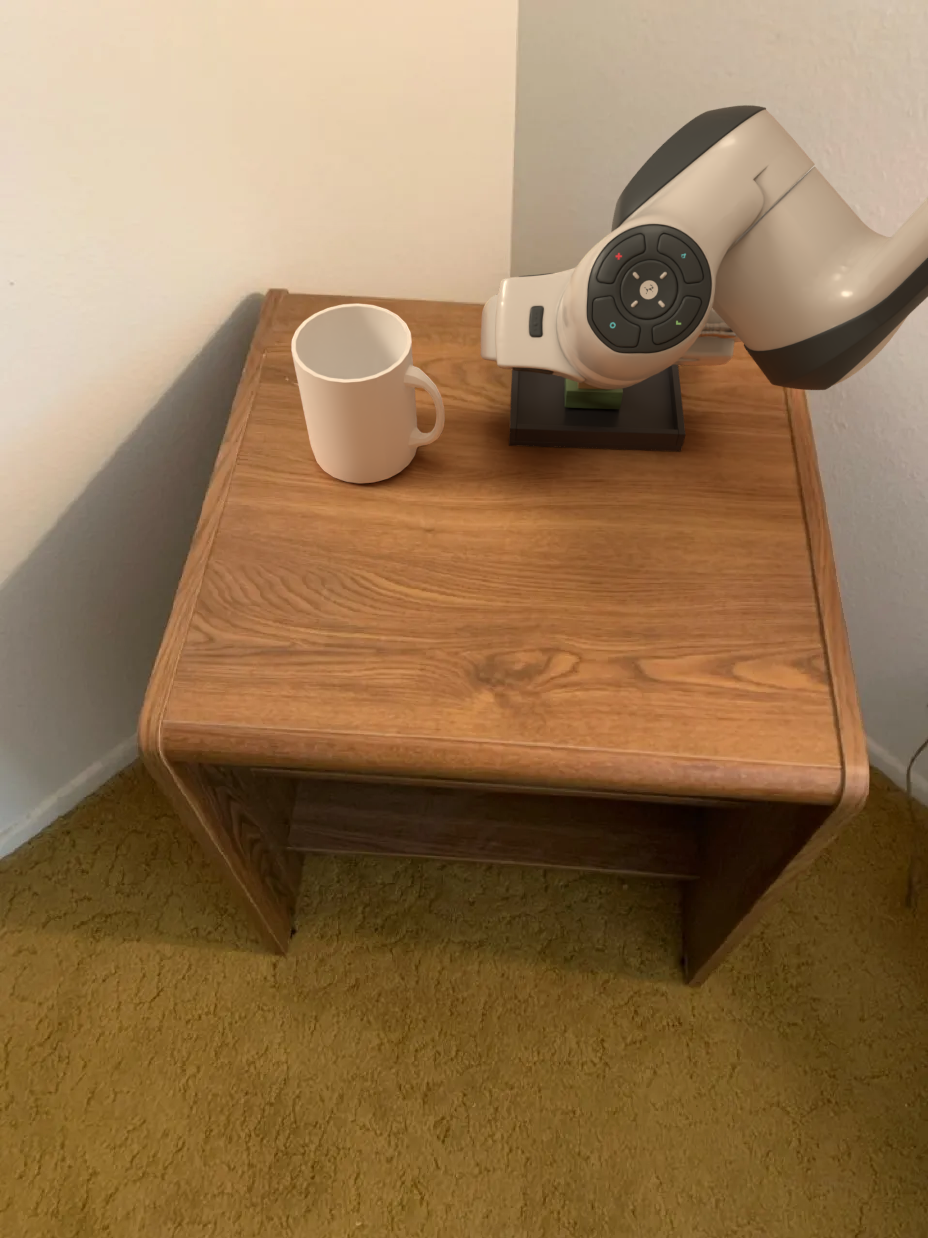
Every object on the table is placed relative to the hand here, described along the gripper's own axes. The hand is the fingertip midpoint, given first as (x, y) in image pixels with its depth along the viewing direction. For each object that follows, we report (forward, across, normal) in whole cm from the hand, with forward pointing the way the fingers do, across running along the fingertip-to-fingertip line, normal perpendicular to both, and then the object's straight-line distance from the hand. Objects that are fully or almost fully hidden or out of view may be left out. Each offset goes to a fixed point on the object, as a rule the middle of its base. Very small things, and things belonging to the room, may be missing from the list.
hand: (596, 346), depth 81 cm
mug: (-1, +19, +10) cm, 21 cm away
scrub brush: (+3, 0, +4) cm, 5 cm away
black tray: (+5, 0, +3) cm, 6 cm away
